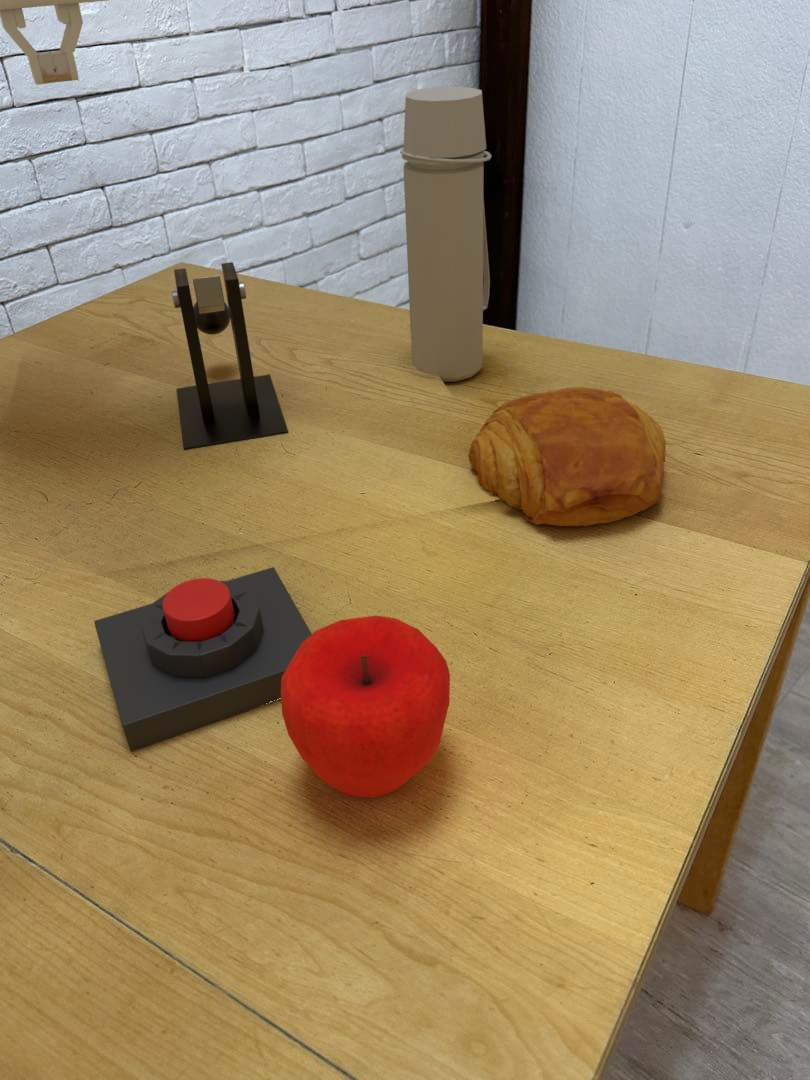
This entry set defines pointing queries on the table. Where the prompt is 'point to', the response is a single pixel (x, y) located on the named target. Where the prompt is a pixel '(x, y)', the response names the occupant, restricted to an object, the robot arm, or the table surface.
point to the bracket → (226, 404)
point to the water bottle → (446, 229)
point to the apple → (366, 703)
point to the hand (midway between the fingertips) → (56, 81)
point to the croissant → (571, 457)
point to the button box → (200, 661)
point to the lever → (210, 305)
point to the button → (198, 610)
